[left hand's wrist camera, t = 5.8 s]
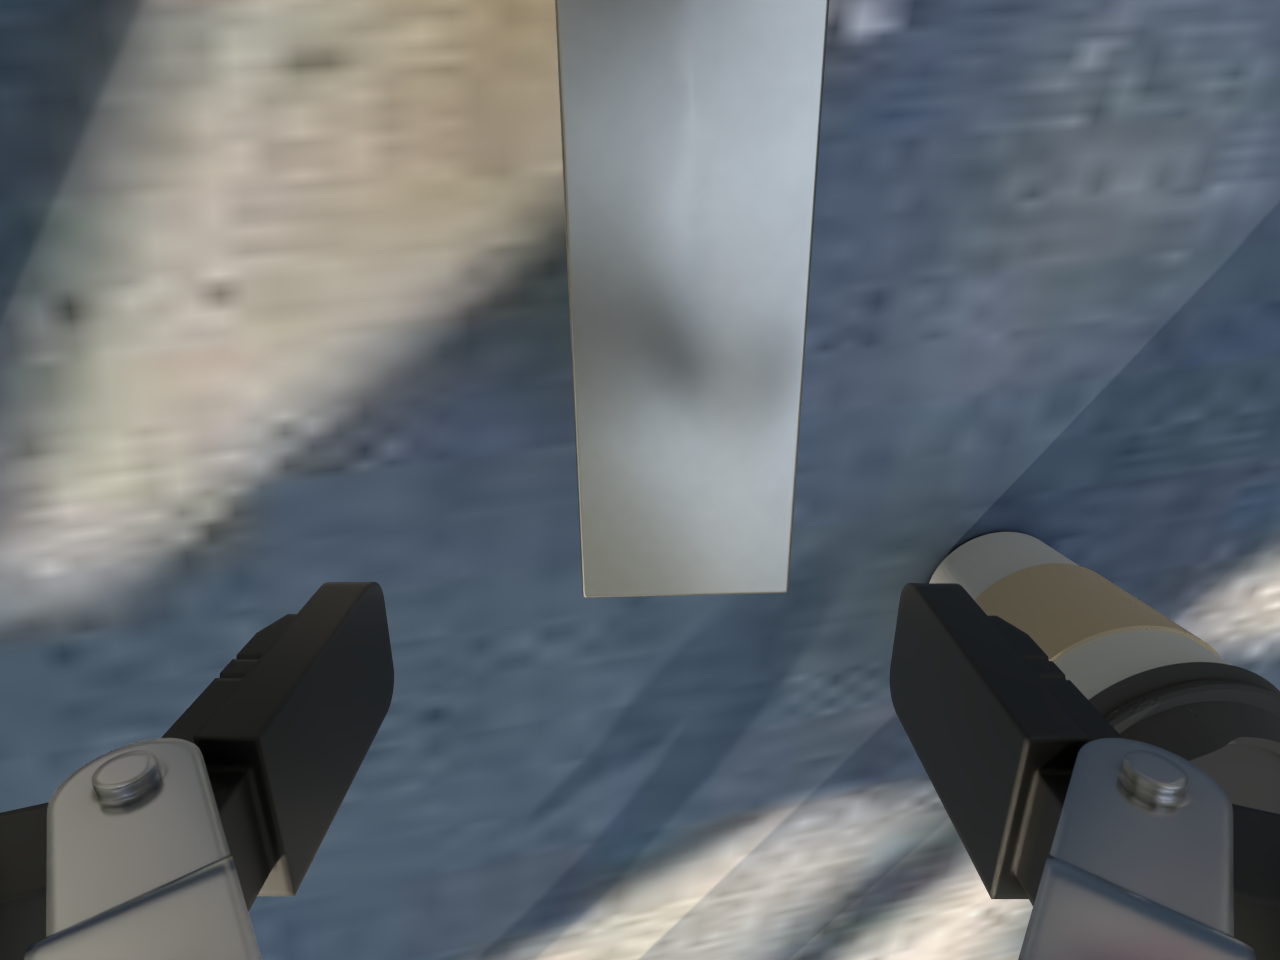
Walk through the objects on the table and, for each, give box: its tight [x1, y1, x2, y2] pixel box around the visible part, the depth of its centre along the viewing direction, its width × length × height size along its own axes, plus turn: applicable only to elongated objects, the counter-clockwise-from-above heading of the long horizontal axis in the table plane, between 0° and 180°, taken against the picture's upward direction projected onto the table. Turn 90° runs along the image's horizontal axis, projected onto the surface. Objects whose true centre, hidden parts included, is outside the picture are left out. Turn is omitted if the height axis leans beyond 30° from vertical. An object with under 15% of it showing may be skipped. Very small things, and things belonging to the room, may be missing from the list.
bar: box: [555, 0, 829, 597], centre depth 18 cm, size 23×5×8 cm, turn 1°
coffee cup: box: [929, 532, 1280, 814], centre depth 30 cm, size 9×9×15 cm
